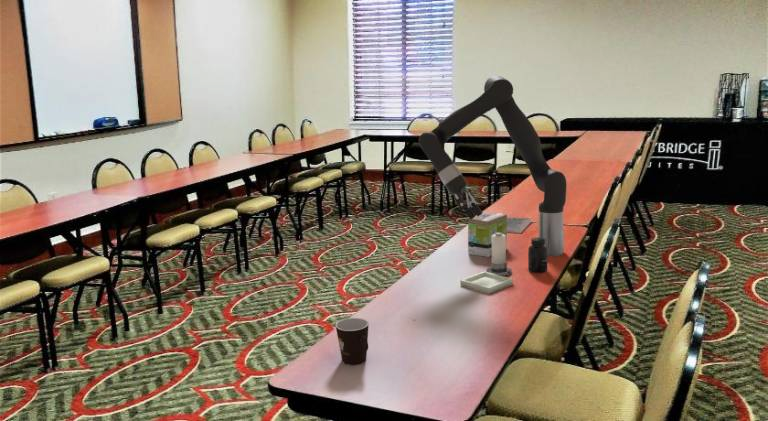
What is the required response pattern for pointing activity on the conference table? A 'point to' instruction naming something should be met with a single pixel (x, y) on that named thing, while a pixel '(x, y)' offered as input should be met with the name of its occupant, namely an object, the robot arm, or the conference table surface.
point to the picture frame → (517, 224)
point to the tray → (486, 282)
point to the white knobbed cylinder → (498, 248)
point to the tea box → (485, 232)
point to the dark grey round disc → (499, 269)
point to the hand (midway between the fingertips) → (476, 216)
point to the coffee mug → (353, 340)
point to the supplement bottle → (537, 256)
